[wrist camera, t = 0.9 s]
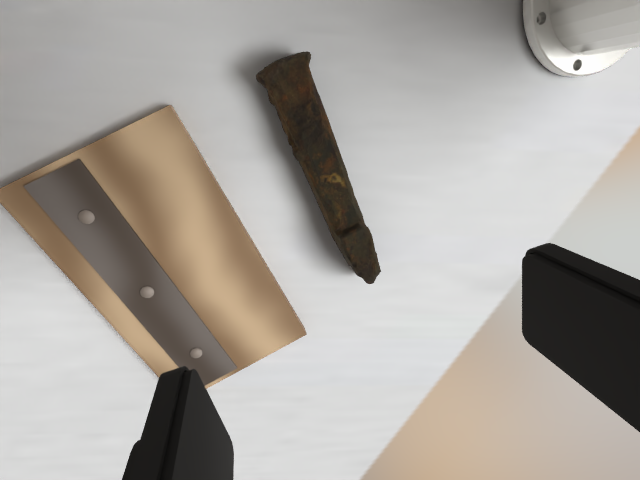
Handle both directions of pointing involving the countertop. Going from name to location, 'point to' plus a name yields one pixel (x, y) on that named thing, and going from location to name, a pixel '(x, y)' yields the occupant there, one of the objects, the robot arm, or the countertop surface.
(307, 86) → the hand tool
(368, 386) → the countertop surface
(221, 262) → the plywood panel
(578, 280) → the robot arm
